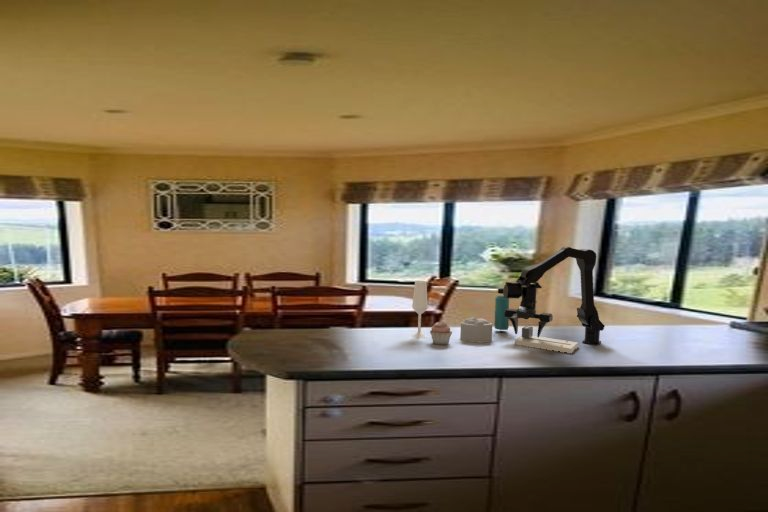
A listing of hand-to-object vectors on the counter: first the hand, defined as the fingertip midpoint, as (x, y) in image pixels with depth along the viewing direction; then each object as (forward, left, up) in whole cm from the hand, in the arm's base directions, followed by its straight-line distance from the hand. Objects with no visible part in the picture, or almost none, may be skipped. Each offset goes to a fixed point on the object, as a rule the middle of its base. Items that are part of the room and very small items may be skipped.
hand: (527, 335), depth 197 cm
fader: (0, 0, 0) cm, 0 cm away
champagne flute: (+19, -41, -3) cm, 45 cm away
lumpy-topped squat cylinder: (+8, -20, -3) cm, 22 cm away
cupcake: (+24, -28, -3) cm, 37 cm away
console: (0, +8, -3) cm, 9 cm away
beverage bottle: (-13, -16, -3) cm, 21 cm away
